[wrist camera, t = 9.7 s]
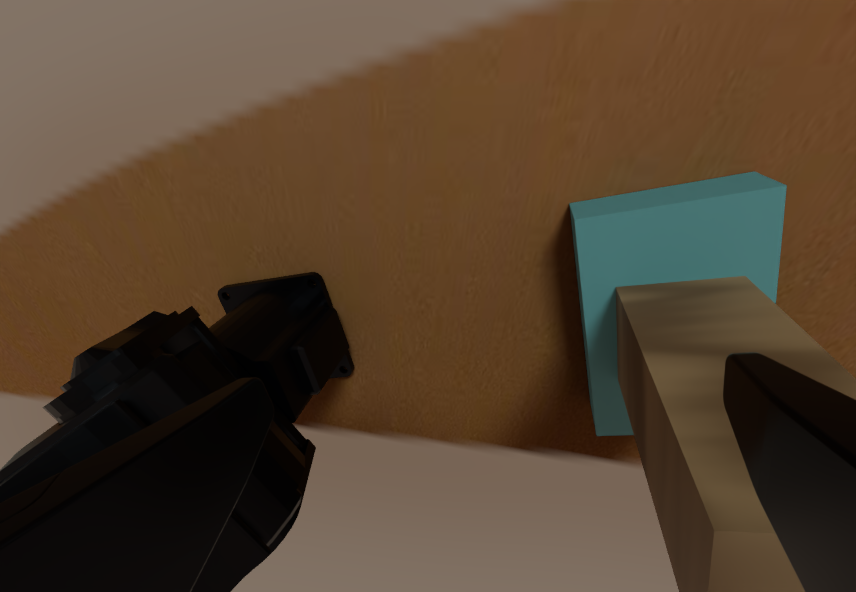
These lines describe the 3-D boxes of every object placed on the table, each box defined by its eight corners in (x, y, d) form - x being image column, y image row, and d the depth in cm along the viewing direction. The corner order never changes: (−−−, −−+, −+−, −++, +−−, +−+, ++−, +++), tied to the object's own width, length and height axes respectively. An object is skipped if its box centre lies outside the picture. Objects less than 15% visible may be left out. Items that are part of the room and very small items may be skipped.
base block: (590, 402, 24) (596, 436, 21) (569, 203, 19) (574, 219, 17) (740, 395, 22) (764, 431, 20) (754, 171, 17) (786, 185, 15)
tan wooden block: (617, 378, 20) (700, 665, 10) (615, 287, 18) (714, 530, 8) (734, 374, 19) (953, 696, 9) (745, 276, 17) (1035, 546, 7)
